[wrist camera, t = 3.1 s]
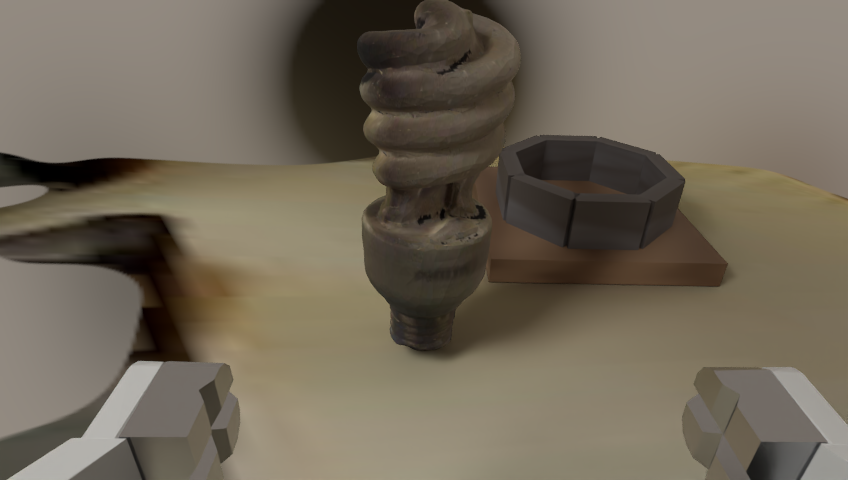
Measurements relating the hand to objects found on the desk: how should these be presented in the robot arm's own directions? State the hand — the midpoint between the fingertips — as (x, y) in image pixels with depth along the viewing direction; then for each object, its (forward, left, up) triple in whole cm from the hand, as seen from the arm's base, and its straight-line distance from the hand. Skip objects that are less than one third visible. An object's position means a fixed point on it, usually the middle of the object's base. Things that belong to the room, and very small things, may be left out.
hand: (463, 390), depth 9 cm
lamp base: (+10, +24, -10) cm, 28 cm away
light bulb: (0, +12, -10) cm, 16 cm away
